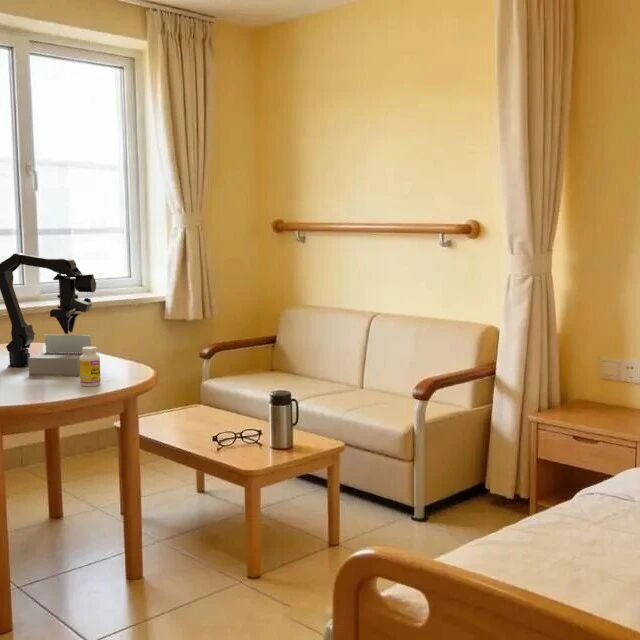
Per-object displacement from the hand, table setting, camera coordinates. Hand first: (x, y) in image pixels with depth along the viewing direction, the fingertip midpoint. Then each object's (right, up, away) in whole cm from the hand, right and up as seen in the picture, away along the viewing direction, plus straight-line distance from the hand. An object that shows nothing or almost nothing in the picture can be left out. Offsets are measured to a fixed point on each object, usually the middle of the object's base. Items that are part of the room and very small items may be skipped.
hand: (68, 333), depth 294 cm
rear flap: (+1, -4, -4) cm, 5 cm away
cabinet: (0, -14, -9) cm, 17 cm away
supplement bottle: (+17, -17, -30) cm, 39 cm away
